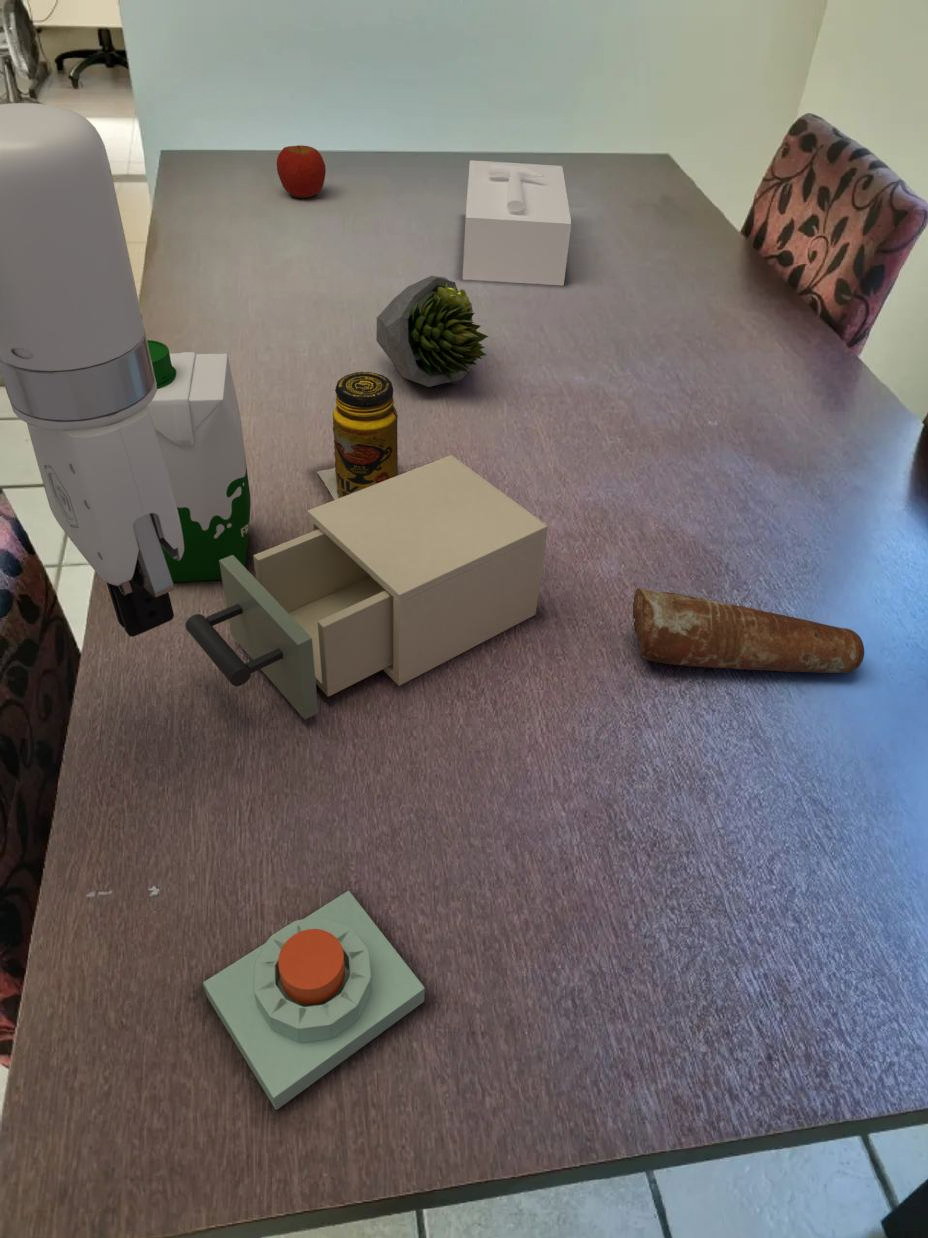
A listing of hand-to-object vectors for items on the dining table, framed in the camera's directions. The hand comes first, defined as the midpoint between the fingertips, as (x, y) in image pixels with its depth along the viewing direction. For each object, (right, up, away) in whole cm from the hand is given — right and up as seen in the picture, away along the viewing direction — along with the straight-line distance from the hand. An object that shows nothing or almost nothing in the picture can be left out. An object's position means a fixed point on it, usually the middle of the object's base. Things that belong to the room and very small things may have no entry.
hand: (147, 621), depth 62 cm
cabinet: (+18, +1, +19) cm, 26 cm away
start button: (+13, -20, -9) cm, 25 cm away
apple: (-6, +70, +93) cm, 117 cm away
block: (+12, -22, -7) cm, 26 cm away
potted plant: (+18, +29, +50) cm, 60 cm away
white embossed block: (+28, +56, +81) cm, 102 cm away
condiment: (+11, +13, +32) cm, 36 cm away
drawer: (+9, -2, +13) cm, 16 cm away
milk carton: (-2, +6, +23) cm, 23 cm away
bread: (+44, -3, +17) cm, 47 cm away
